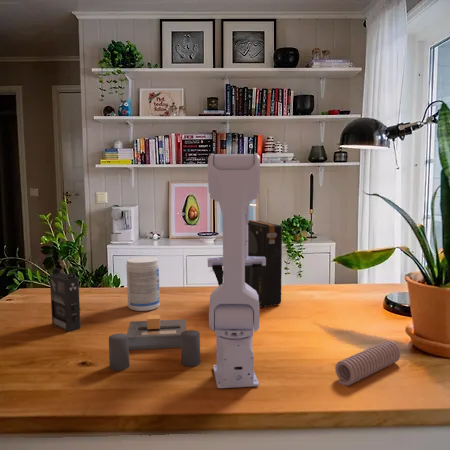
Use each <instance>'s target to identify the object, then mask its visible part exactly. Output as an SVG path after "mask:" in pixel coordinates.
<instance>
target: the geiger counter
mask: <svg viewBox="0 0 450 450" xmlns="http://www.w3.org/2000/svg"><path fill="white" fill-rule="evenodd" d="M60 269H61V268H60V267H59V268H53V269H52V274H51V273H50V274H49V285H50V286H49V287H50V290H49V291H50V303H51V304H50V306H51V307H50V308H51V322H52V323H51V325H53V326H54V327H57V328H60V329H61V330H63V331H65V332H74V331H76V330H77V331H78V330H81V328H82V327H81V306H80V305H81V304H80V286H79V285H80V284H79V283H80V282H79V277H78V276H76V272H71V273H66V274H65V273H64V272H61V270H60Z"/></svg>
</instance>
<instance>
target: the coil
mask: <svg viewBox="0 0 450 450" xmlns="http://www.w3.org/2000/svg"><path fill="white" fill-rule="evenodd" d="M400 358H401V350H400V348H399V346H398V344H397V343H396V342H394V341H392V340H385V341H382V342H380V343H379V344H376V345H373V346H371V347H369V348H367V349H364V350H362V351H359V352H357V353H355V354H353V355H350V356H348V357H346V358H343V359H341V360H339V361H337V363H336V364H335V374H336V376H337V378H338V379H339V380H338V381H337V383H338V384H339V385H342V386H345V387H348V386H351V385H353V384H354V383H357V382H359V381H361V380H363V379H365V378H366V377H369V376H371V375H372V374H373V375H374V374H375V373H377V372H379V371H381V370H383V369H385V368H388V367H389V366H392V365H393V364H395V363H397V362H398V361H399V360H400Z"/></svg>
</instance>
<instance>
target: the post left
mask: <svg viewBox="0 0 450 450" xmlns="http://www.w3.org/2000/svg"><path fill="white" fill-rule="evenodd" d="M129 352H130V350H129V342H128V335H127V333H115V334H111V335H110V336H108V355H109V357H108V358H109V359H108V360H109V369H110V370H112V371H115V372H119V371H120V372H121V371H125V370H127V369H128V368H129V367H130V356H129V355H130V353H129Z"/></svg>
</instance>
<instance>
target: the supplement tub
mask: <svg viewBox="0 0 450 450" xmlns="http://www.w3.org/2000/svg"><path fill="white" fill-rule="evenodd" d="M159 265H160V264H159V259H158V258H157V257H154V256H137V257H132V258H128V259H126V265H125V267H126V268H125V269H126V289H127V290H126V292H127V307H128V309H130V310H132V311H135V312H149V311H152V310H156V309H157V308H159V306H160V305H161V297H160V295H161V294H160V293H161V292H160V291H161V290H160V268H159V267H160V266H159Z"/></svg>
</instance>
